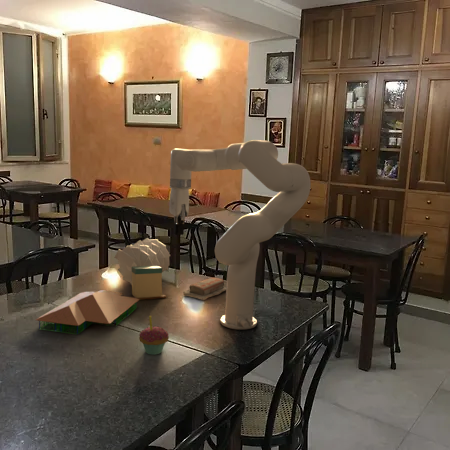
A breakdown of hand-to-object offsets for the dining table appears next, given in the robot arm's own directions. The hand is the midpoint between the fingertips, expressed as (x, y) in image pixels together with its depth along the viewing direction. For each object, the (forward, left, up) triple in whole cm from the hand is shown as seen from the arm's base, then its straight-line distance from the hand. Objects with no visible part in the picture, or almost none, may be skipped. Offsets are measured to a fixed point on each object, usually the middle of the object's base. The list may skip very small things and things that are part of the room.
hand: (178, 234), depth 182 cm
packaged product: (+12, -16, -27) cm, 34 cm away
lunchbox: (+10, +8, -21) cm, 24 cm away
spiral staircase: (+35, +5, -27) cm, 45 cm away
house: (-4, +31, -27) cm, 41 cm away
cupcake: (-37, +17, -27) cm, 49 cm away
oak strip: (+11, +9, -27) cm, 30 cm away
